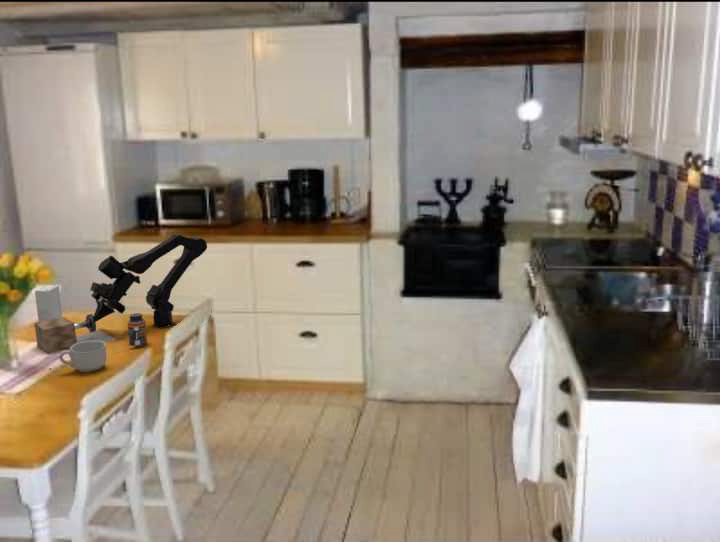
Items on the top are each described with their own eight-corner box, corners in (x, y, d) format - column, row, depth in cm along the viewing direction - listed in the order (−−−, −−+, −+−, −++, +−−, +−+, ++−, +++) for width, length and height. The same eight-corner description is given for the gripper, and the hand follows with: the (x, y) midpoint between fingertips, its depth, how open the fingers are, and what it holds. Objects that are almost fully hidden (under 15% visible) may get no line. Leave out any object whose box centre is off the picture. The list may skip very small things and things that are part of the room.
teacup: (108, 361, 223) (105, 338, 222) (108, 372, 213) (105, 347, 212) (62, 367, 218) (59, 344, 217) (60, 379, 209) (57, 354, 207)
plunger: (90, 329, 247) (88, 312, 246) (96, 333, 242) (94, 316, 241) (60, 336, 240) (58, 318, 239) (66, 339, 235) (64, 322, 234)
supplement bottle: (142, 348, 235) (138, 317, 233) (126, 348, 236) (123, 316, 234) (150, 343, 241) (147, 312, 238) (135, 342, 242) (132, 312, 240)
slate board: (101, 333, 254) (100, 330, 254) (116, 342, 243) (116, 339, 243) (36, 347, 240) (35, 345, 239) (49, 357, 228) (48, 355, 228)
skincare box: (49, 320, 273) (45, 285, 270) (64, 320, 273) (59, 284, 270) (38, 327, 265) (33, 290, 262) (53, 327, 265) (48, 290, 261)
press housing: (67, 339, 244) (64, 317, 242) (77, 346, 236) (74, 323, 234) (37, 346, 238) (34, 323, 236) (47, 353, 230) (43, 329, 228)
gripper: (94, 269, 251) (66, 304, 246) (113, 277, 237) (84, 314, 232) (117, 287, 257) (90, 320, 253) (137, 295, 243) (109, 331, 239)
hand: (93, 321), depth 244 cm, fingers closed, pressing on plunger
